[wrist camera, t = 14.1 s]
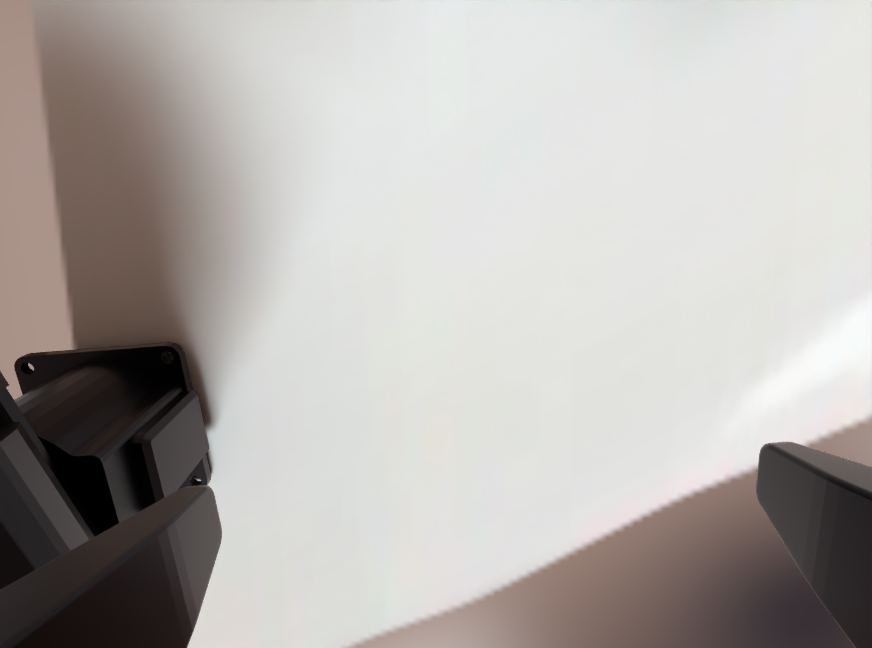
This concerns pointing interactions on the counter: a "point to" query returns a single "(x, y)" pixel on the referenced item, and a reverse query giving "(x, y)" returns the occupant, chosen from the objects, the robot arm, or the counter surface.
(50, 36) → the counter surface
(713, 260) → the counter surface
